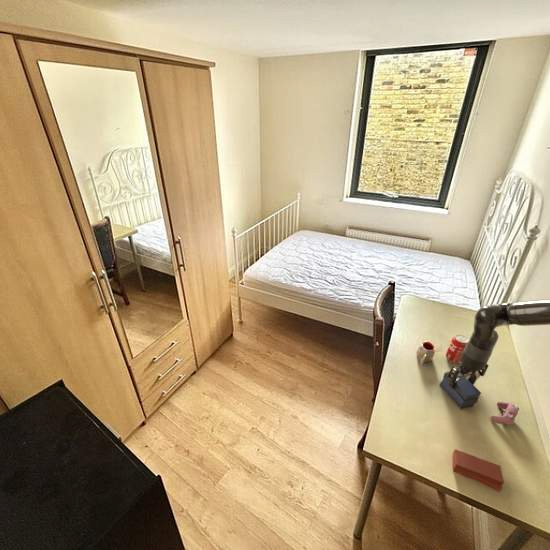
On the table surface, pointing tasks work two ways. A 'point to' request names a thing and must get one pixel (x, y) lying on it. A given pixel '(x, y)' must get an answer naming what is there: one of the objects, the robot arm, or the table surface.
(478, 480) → the red brick
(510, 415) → the pink lumpy piece
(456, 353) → the beverage can
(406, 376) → the table surface
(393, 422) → the table surface
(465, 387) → the dark blue flat block
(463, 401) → the navy brick
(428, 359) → the mug
